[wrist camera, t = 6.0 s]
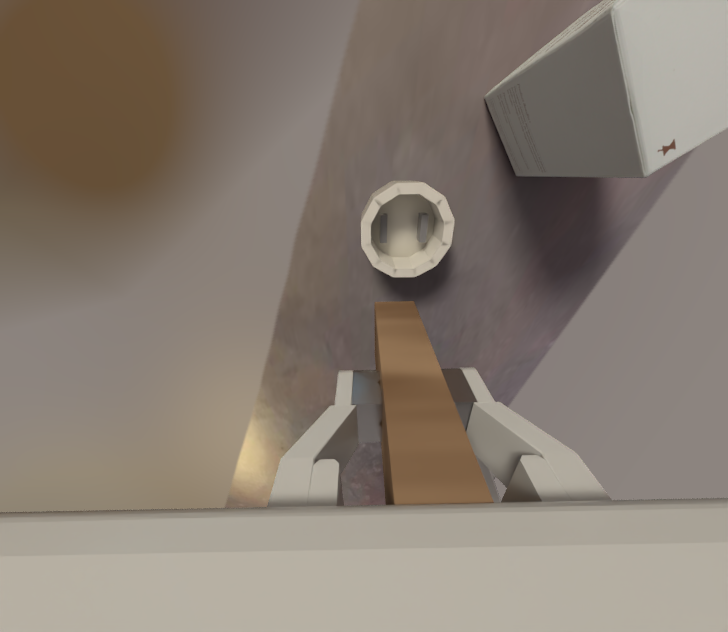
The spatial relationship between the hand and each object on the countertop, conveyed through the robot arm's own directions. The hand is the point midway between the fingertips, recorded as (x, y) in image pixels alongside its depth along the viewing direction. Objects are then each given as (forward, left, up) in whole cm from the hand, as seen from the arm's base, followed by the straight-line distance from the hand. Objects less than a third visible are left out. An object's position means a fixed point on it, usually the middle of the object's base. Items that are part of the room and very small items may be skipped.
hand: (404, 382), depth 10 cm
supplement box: (+11, -13, -20) cm, 26 cm away
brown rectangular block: (0, 0, -4) cm, 4 cm away
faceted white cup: (+2, -2, -20) cm, 20 cm away
